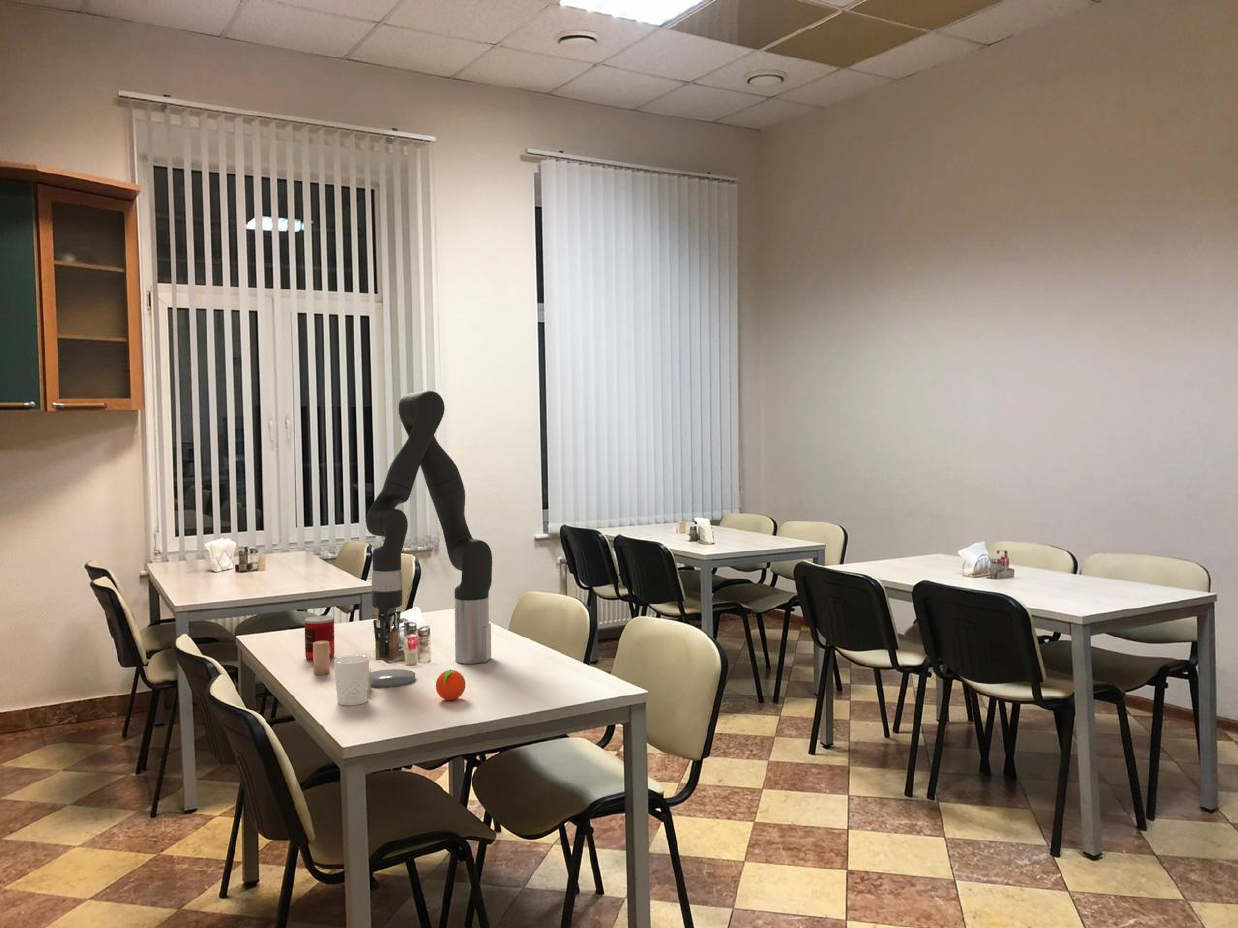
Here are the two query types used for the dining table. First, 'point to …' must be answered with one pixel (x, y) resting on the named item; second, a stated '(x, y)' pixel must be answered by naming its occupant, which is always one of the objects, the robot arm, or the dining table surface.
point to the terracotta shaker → (321, 657)
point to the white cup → (352, 679)
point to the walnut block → (390, 646)
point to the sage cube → (369, 681)
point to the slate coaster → (391, 678)
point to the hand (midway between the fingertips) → (387, 654)
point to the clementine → (450, 685)
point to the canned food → (319, 634)
